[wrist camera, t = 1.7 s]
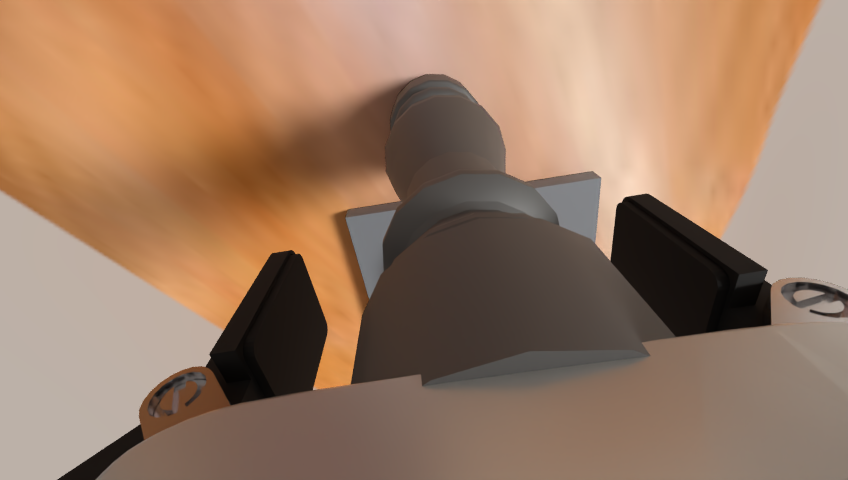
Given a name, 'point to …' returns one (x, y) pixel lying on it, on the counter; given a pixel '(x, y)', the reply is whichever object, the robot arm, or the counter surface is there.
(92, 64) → the counter surface
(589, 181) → the socket board
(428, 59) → the counter surface
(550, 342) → the candle holder
